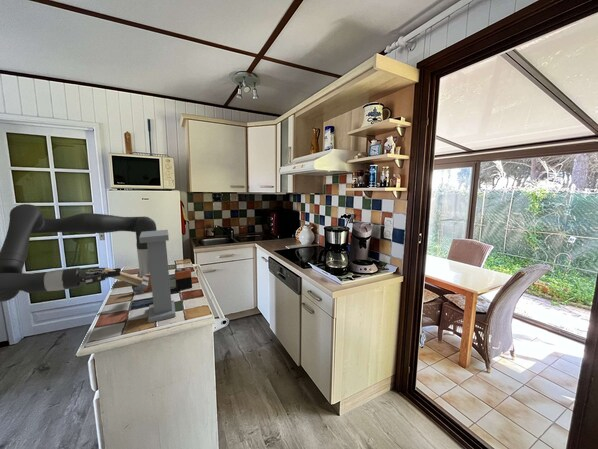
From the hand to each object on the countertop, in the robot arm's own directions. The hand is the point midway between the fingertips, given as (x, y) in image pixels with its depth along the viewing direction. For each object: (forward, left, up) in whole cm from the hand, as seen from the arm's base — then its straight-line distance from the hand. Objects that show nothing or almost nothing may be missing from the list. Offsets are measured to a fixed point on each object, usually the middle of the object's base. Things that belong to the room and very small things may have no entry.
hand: (120, 271), depth 102 cm
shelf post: (+13, +14, -15) cm, 24 cm away
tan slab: (0, +1, -4) cm, 4 cm away
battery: (-8, +23, -15) cm, 29 cm away
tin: (-12, +9, -15) cm, 22 cm away
